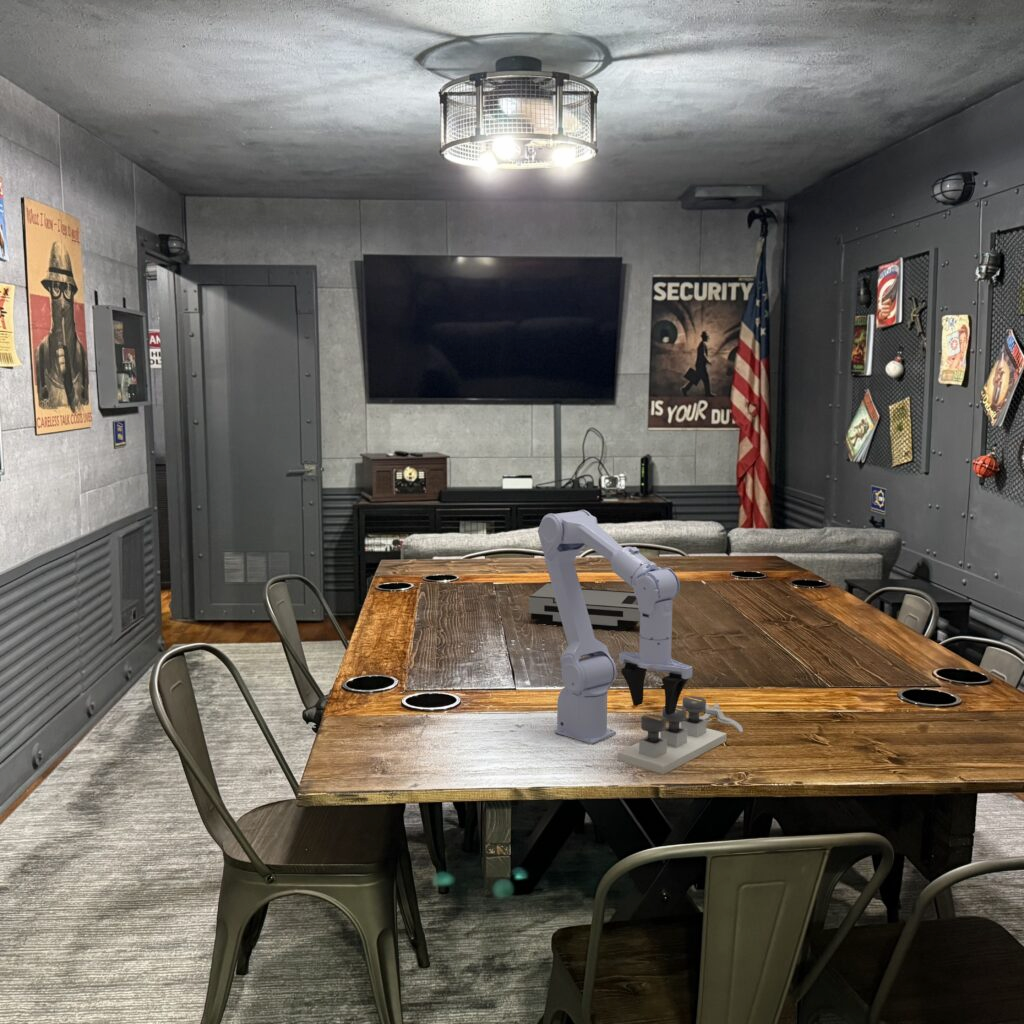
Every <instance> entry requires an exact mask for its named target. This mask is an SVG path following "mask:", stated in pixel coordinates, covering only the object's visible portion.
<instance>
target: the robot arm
mask: <svg viewBox="0 0 1024 1024" xmlns="http://www.w3.org/2000/svg"><path fill="white" fill-rule="evenodd" d="M537 534H538V537H539V540H540V545H541V549H542V553H543V555H544V561H545V566H546V569H547V572H548V576H549V580H550V582H551V584H552V588H553V591H554V595H555V599H556V602H557V606H558V610H559V613H560V617H561V621H562V624H563V627H562V628H563V631H564V634H565V635H564V636H565V638H566V642H567V647H566V649H565V650H564V651H563V652H562V654H561V655H560V658H559V660H560V663H561V679H562V683H563V685H564V687H563V688H562V689H561V690H560V692H559V695H558V698H557V703H556V707H557V712H556V714H557V716H556V717H557V718H556V719H557V720H556V723H557V724H556V726H557V727H556V729H555V730H554V733H555V734H558V735H561V736H565V737H568V738H570V739H571V738H572V739H575V740H578V741H581V742H583V743H584V742H585V743H587V744H593V745H594V744H596V743H598V742H600V741H603V740H605V739H607V738H609V737H612V736H613V735H616V734H617V731H616V730H614V729H610V728H608V691H610V690H611V685H612V684H613V683H614V682H615V680H616V678H617V673H618V672H617V664H616V663H615V661H614V659H613V658H612V656H611V655H610V653H609V649H608V646H607V645H606V644H604V643H603V642H601V641H600V640H599V639H597V638H596V637H595V634H594V629H592V626H591V622H590V619H589V615H588V611H587V608H586V604H585V601H584V597H583V593H582V590H581V588H582V586H581V583H580V580H579V576H578V573H577V569H576V566H575V560H576V558H577V556H578V555H580V553H581V552H582V550H583V549H585V547H586V546H587V547H589V548H590V549H591V550H593V551H595V552H596V553H597V554H598V555H600V556H601V557H603V558H604V559H606V560H607V561H609V562H610V567H611V571H612V573H614V574H615V575H617V576H618V577H619V578H620V579H622V580H623V581H624V582H625V583H627V584H628V586H630V587H631V588H632V589H633V592H634V594H635V596H636V598H637V601H638V609H639V612H640V621H639V647H638V649H639V651H638V652H630V651H626V650H625V651H623V652H620V653H618V664H620V665H624V667H623V668H621V669H620V672H621V675H623V678H624V680H625V682H626V684H627V686H628V690H629V692H630V693H629V694H630V697H631V702H632V706H634V707H638V706H640V705H643V702H644V701H643V700H644V685H645V679H646V674H647V670H651V671H655V672H659V673H664V674H668V675H666V676H665V677H662V679H661V681H662V685H663V688H664V697H665V698H664V701H665V702H664V706H665V712H666V714H667V715H670V714H672V713H675V710H676V706H677V705H678V701H679V698H680V695H681V693H682V691H683V689H684V687H685V686H686V684H687V683H688V681H689V679H690V678H692V677H693V665H688V664H685V663H682V662H680V661H677V660H675V659H674V658H672V638H673V637H672V635H673V631H672V630H673V600H674V599H676V598H677V597H678V595H679V593H680V589H681V584H680V583H681V582H680V580H679V577H678V575H677V574H676V572H674V570H673V569H672V568H670V567H660V566H658V565H657V563H655V562H654V561H650V560H649V559H648V558H647V557H645V556H644V555H643V554H641V553H640V549H639V548H638V547H636V546H625V547H623V546H622V545H621V544H619V542H618V541H616V540H615V539H614V538H613V536H611V535H610V534H608V532H606V530H604V529H603V528H602V527H601V526H600V525H599V524H598V519H597V517H596V516H594V515H592V514H591V513H590V512H589V511H587V510H585V509H579V510H577V511H569V512H560V513H547V514H546V515H544V516H543V517H542V519H541V521H540V524H539V527H538V528H537ZM584 656H586V657H584ZM587 656H588V657H587ZM581 657H583V658H581Z"/></svg>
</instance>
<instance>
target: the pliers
mask: <svg viewBox="0 0 1024 1024" xmlns="http://www.w3.org/2000/svg"><path fill="white" fill-rule="evenodd" d="M719 704H720V703H719V702H715V703H714V704H713V706H711V705H709V704H708V703H706V710H705V711H704V712H703V713H704V714H703V715H700V716H699V718H700V719H704V720H707V724H709V723H710V722H713V719H712V718H710V717H716V718H717V719H716V721H717V722H718V723H721V724H723V725H724V724H725V725H727V726H731V727H732V726H733V727H734V728H735V729H736V730H737V731H738V733H739V734H743V732H744V731H743V729H744V728H743V726H742V725H741V724H740V723H739V722H738V721H736V720H735V719H733V718H730V717H727V716H725V713H724V712H723V711H722V710H721V709H720V705H719Z"/></svg>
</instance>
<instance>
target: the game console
mask: <svg viewBox="0 0 1024 1024" xmlns="http://www.w3.org/2000/svg"><path fill="white" fill-rule="evenodd" d="M581 590H582V593H583V597H584V601H585V604H586V608H587V611H588V615H589V619H590V622H591V626H592V629H593V630H597V629H602V631H610V630H615V631H614V632H622V631H626V630H628V629H629V628H631V627H632V628H635V627H636V626H637V625H638V623H640V612H639V609H638V601H637V598H636V596H635V594H634V591H626V590H611V589H609V590H608V589H597V588H596V589H595V588H593V589H592V588H584V587H583V588H582V587H581ZM528 613H529V614H530V615H531V617H530V619H531V620H535V621H536V620H537V625H538V624H546V625H557V626H556V627H559V626H563V624H562V621H561V617H560V613H559V610H558V606H557V602H556V599H555V595H554V591H553V588H552V584H551V581H549V582H547V583H545V584H544V585H543V586H542V587H540V588H539V589H538V590H536V591H535V592H534V593H532V594H531V595H530V596H529V597H528ZM546 625H545V626H546ZM626 632H627V631H626Z"/></svg>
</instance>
